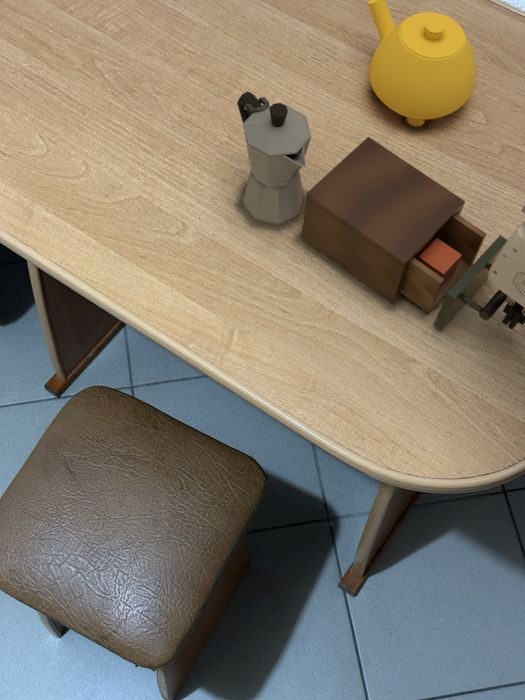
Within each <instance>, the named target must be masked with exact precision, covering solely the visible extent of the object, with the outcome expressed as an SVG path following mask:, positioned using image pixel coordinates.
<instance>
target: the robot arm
mask: <svg viewBox="0 0 525 700" xmlns="http://www.w3.org/2000/svg"><path fill="white" fill-rule="evenodd" d="M521 212H522V213H523V214H525V204H524V205H523V206H522V208H521ZM488 279H489V281H490V283H491V284H492V285H493V286H494V287H496V288H497V289H498V290H501V291H502V292H503V293H505V294H506V295H507V297H506V301H505V302H506V304H505V306H504V307H503V310H502V312H503V313H504V314H505V315H504V316H503V317H504V318H503V319H502V321H501V323H502V324H503V325H507V326H508V329H510V330H511V331H512V330H513V329H514V328H515V327H516V326H517V324H519V325H521V326H524V325H525V220H524V221H523V222H522V223H521V224H520V225H518V226H517V228H516V229H515V230H514V231H513V232H512V233H511V235H510V236H509V238H508V239H507V242H506V243H505V245H504V246H503V248H502V249H501V251H500V253H499V254H498V256H497V257H496V259H495V261H494V262H493V264H492V266H491V268H490V270H489V272H488Z"/></svg>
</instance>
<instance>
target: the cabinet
mask: <svg viewBox="0 0 525 700" xmlns="http://www.w3.org/2000/svg"><path fill="white" fill-rule="evenodd" d="M304 203H305V204H304V211H303V221H302V229H301V239H302V240H304V241H305V242H307V243H308V244H310V245H311V246H312V247H314V248H315V249H316V250H318V251H319V252H320V253H322V254H323V255H325V256H326V257H328V258H329V259H330V260H332V261H333V262H334V263H336V264H337V265H338V266H340V267H341V268H343V269H344V270H345V271H346V272H348V273H349V274H351V275H352V276H353V277H355V278H356V279H358V280H359V281H360V282H362V283H363V284H364V285H366V287H368V288H370V289H371V290H372V291H374V292H375V293H376V294H378V295H379V296H381V297H382V298H383V299H384V300H386V301H388V302H389V303H390V304H391V305H393V304H394V303H395V302H396V301H397V299H399V298H400V296H401V295H403V294H402V293H401V292H399V289H400V286H401V283H402V280H403V277H404V274H405V271H406V268H407V265H408V263H409V261H410V260H411V259H412V258H413V257H414V256H415V255H416V254H417V253H418V252H419V251H420V250H421V249H422V248H423V247H424V246H425V245H426V244H427V243H428V242H429V241H430V240H431V239H432V238H433V237H434V236H435V235H436V234H437V233H438V231H439V230H440V229H441V228H442V227H443V226H444V225H445V224H446V223H447V222H448V221H449V220H450V219H451V218H452V217H453V216H454V215H455V214H456V213H457V214H458V215H460V216H461V214H462V211H463V209H464V207H465V206H464V205H465V203H466V201H465V199H463V198H461V197H460V196H458V195H457V194H455V193H454V192H452V191H450V190H449V189H447V188H446V187H445V186H443V185H442V184H440V183H438V181H436V180H434V178H432V177H430V176H428V175H427V174H425V173H424V172H422V171H421V170H420V169H418V168H416V167H415V166H413V165H412V164H411V163H409V162H407V161H405V159H403V158H401V157H400V156H398V155H397V154H396V153H394V152H393V151H390V150H389V149H388V148H386V147H385V146H384V145H382V144H381V143H379V142H377V141H376V140H374V139H373V138H372V137H370V136H367V137H366V138H365V139H364V140H362V142H361V143H359V144H358V145H357V146H356V147H355V148H354V149H353V150H352V151H351V152H350V153H349V154H348V155H347V156H346V157H344V158H343V159H342V160H341V161H340V162H339V163H338V164H337V165H336V166H334V167H333V168H332V169H331V170H330V171H329V172H328V173H326V175H325V176H323V177H322V178H321V179H320V180H319V181H318V182H317V183H316V184H314V186H313V187H312V188H311V189H309V190H308V191H307V192H306V197H305V202H304Z"/></svg>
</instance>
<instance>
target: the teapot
mask: <svg viewBox="0 0 525 700" xmlns="http://www.w3.org/2000/svg"><path fill="white" fill-rule="evenodd" d="M387 2H388V1H387V0H369V1H368V2H367V5H368V7H369V10H370V13H371V15H372V18H373V22H374V24H375V27H376V30H377V33H378V36H379V38H380V41H381V42H380V43H379V44H378V46H377V48H376V49H375V52H374V54H373V56H372V58H371V61H370V65H369V69H368V70H369V71H368V74H369V81H370V82H369V83H370V85H371V87H372V90H373V92H374V93H375V95H376V96H377V98H378V99H379V100H380V101H381V103H383V104H384V105H385V106H387V107H388V108H389V109H390V110H391V111H393V112H395V113H397V114H399V115H400V116H403V117H406V122H407V123H408V124H409V125H410V126H413V127H420V126H422V125H424V124H425V122H426V120H432V119H438V118H443V117H446V116H447V115H451V114H453V113H454V112H456V111H458V110H459V109H460V108H461V107H463V106H464V105H465V104H466V103H467V102H468V100H469V99H470V98H471V96H472V94H473V92H474V89H475V84H476V78H477V63H476V57H475V52H474V50H473V49H474V48H473V47H472V45H471V42H470V40H469V38H468V36H467V33H466V32H465V30H464V29H463V28H462V26H461V25H460V23H458V22H457V21H456V20H454V19H452V18H451V17H449V16H447V15H445V14H442V13H439V12H431V11H430V12H429V11H427V12H419V13H416V14H413V15H410V16H409V17H407V18H406V19H404V20H402V21H401V22H399V24H397V25H396V24H395V22H394V19H393V17H392V14H391V11H390V8H389V5H388V3H387Z"/></svg>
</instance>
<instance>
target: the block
mask: <svg viewBox="0 0 525 700" xmlns="http://www.w3.org/2000/svg"><path fill="white" fill-rule="evenodd" d="M461 256H462V255H461V254H460V253H458V252H457V251H455V250H454V249H453V248H451V247H450V246H448V245H447V244H445V243H444V242H442V241H441V240H440V239H438V238H436V239H435V240H434V241H433V242H432V243H431V244H430V245H429V246H428V247H427V248H426V249H425V250H424V252H423V253H422V254H421V255H420V256H419V257H418V261H419V262H421V263H422V264H424V265H425V266H426V267H428V268H429V269H431V270H432V271H433V272H435V273H436V274H438V275H439V276H441V277H442V278H443V279H444V282H443V284H444V283H445V282H446V281H447V280H448V279H449V277H450V276H451V275H452V274H453V273H454V272H455V270H456V268H457V265H458V263H459V261H460V258H461ZM443 284H442V285H443Z"/></svg>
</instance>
